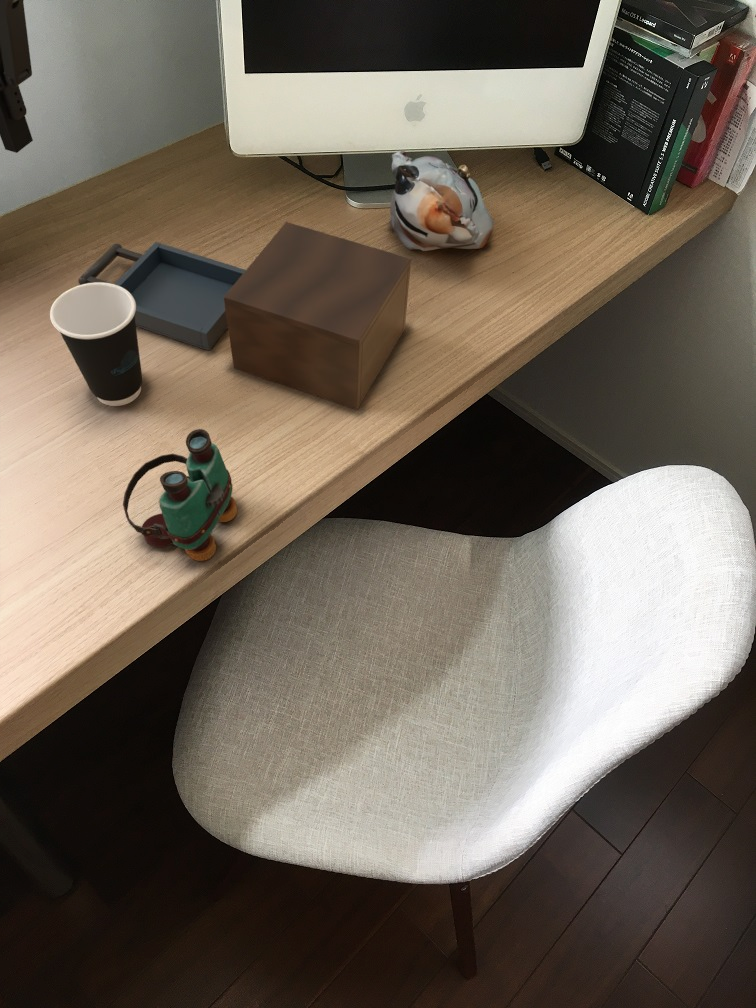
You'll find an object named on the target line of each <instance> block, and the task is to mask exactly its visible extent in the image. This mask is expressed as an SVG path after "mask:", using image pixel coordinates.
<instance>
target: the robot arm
mask: <svg viewBox="0 0 756 1008" xmlns="http://www.w3.org/2000/svg"><path fill="white" fill-rule="evenodd" d="M32 75H33V69H32V61H31V53H30V45H29V36H28V27H27V20H26V13H25V4H24V0H0V140H1V142H2V144H3V147H4V150H5V151H8V152H12V153H15V154H18V153H19V152H20V151H21V150H23V149H24V148H26V147H27V146H28V145H29V144H30V143H32V142H33V141H34V139H33V136H32V133H31V130H30V128H29V125H28V121H27V118H26V115H27V107H26V104H25V101H24V97H23V95H22V92H21V89H20V85H21V84H23V83H24V82H25V81H27V80H28V79H29V78H31V77H32Z"/></svg>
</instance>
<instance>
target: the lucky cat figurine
mask: <svg viewBox="0 0 756 1008" xmlns="http://www.w3.org/2000/svg"><path fill="white" fill-rule="evenodd" d="M391 160H392V161H391V172H392V174H393V177H394V178H395V181H394V183H395V184H394V190H393V191H392V193H391V198H390V206H389V207H390V208H389V211H390V218H389V225H390V229H391V231H392V232H393V233H394V234H395V235H396V236H397V238H398V239H399V240H400V242H401V244H402V245H403V246H404V247H405V248H406V249H408V250H420V251H422V252H427V251H433V250H440V249H463V250H475V249H478V250H479V249H482V248H484V247H485V246H486V244H487V242H488V239H489V237H490V235H491V234H492V232H493V228H494V223H495V219H494V218H493V217H492V216H491V214H490V212H489V210H488V208H487V207H486V204H485V202H484V199H483V196H482V195H483V194H482V192H481V190H480V188H479V186H478V184H477V182H475V180H473V179H472V178H471V175H472V173H471V169H470V168H469V166H467V165H466V164H461V165H459V166H458V168H457V167H453V166H452V165H450V164H449V163H446V162H444V161H443V160H441V159H440V158H438V157H436V156H431V155H424V156H421V157H417V158H415V159H413V158H411V157H409V156H408V154H407V153H406V151H405V150H398V151H396V152H395V153H392V154H391Z"/></svg>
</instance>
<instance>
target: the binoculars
mask: <svg viewBox="0 0 756 1008" xmlns="http://www.w3.org/2000/svg"><path fill="white" fill-rule="evenodd" d="M185 446H186V448H187V450H188V452H189V455H188V456H187V457H186V456H183V455H180V454H176V453H168V454H162V455H160V456H157V457H155V458H153V459H150V460H149V461H147V462H145V463H144V464H142V466H141V467H140V468H138V469H137V470H136V471H135V472H134V474H133V475H132V477H131V479H130V480H129V482H128V484H127V487H126V489H125V492H124V495H123V501H122V507H123V511H124V514H125V518H126V520H127V522H128V524H129V525H130V526H131V527H132V528H133V529H134V530H135V531H136V533H139V534H141V535H142V536H143V538H144V541H145V543H146V544H147V545H149V546H150V547H154V548H155V547H157V548H158V547H160V548H161V547H168V546H170V545H174V546H176V547H178V548H180V549H183V550H184V551H185V554H186V555H187V556H188V557H189V558H190V559H192V560H194V561H198V562H203V561H207V560H209V559H211V558H212V557H213V556H214V554H215V553H216V550H217V545H216V542H215V539H214V536H213V535H212V533H213V531H214V529H215V528H216V526H217V524H218V522H219V523H226V522H230V521H231V520H233V519H234V518H235V517H236V516H237V513H238V508H237V504H236V501H235V498H234V497H233V496H232V494H233V489H234V487H233V483H232V477H231V474H230V471H229V470H228V469H227V467H226V464H225V462H224V459H223V457H222V454H221V452H220V449H219V447H218V446H217V444H215V443H213V442H212V440H211V436H210V433H209V432H208V431H207V430H205V429H203V428H197V429H194V430H192V431H191V432H189V433H188V435H187V436H186V438H185ZM173 462H177V463H181V464H185V466H186V471H187V474H188V475H187V474H186V473H185V472H182V471H180V470H170V471H167V472H165V473H163V474H162V475H160V476H159V477H160V478H159V482H160V484H161V487H162V488H163V490H164V492H163V493H162V494H161V496H160V498H159V500H158V501H159V502H158V503H159V507H160V511H161V513H157V514H154V515H151V516H150V517H148V518H147V519H146V520H145V521H144V522H143V523H142V525H137V524H135V523H134V522H133V520H131V519H130V516H129V512H128V509H129V503H130V499H131V496H132V493H133V491H134V489H135V488H136V486H137V484H138V483H139V481H140V480H141V479H142V478H143V477H144V476H145V475H146V474H147V473H148V472H149V471H151V470H153V469H155V468H157V467H159V466H161V465H164V464H167V463H173Z"/></svg>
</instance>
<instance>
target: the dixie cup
mask: <svg viewBox="0 0 756 1008" xmlns="http://www.w3.org/2000/svg"><path fill="white" fill-rule="evenodd" d="M110 283H111V282H110ZM110 283H102V282H95V283H87V284H82V285H80V284H79V285H76V286H74V287H72V288H70V289H67V290H66V291H64V292H62V294H60V295H59V296H58V297H57V298H56V299H54V301H53V303H52V305H51V307H50V311H49V317H50V318H49V319H50V322H51V324H52V326H53V327H54V328H55V329H56V330H57V331H58V332H59V333H60V335H61V337H62V339H63V341H64V343H65V345H66V346H67V349H68V350H69V352H70V354H71V357H72V358H73V360H74V362H75V364H76V366H77V368H78V369H79V371H80V372H81V375H82V377H83V379H84V381H85V382H86V384H87V386H88V388H89V390H90V392H91V393H92V394H93V396H94V397H96V399H97V400H98V401H99V402H100V403H101V404H103V405H106V406H111V407H120V406H125V405H128V404H131V402H133V401H135V400H136V399H137V398H138V397H139V396H140V394H141V391H142V384H143V373H142V364H141V356H140V349H139V341H138V340H139V339H138V332H137V326H136V323H135V315H134V314H135V311H136V303H135V300H134V298H133V296H132V295H131V294H130V293H129V292H128V291H127V290H126V289H124V288H122V287H120V286H118V285H115V283H113V284H110Z"/></svg>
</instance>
